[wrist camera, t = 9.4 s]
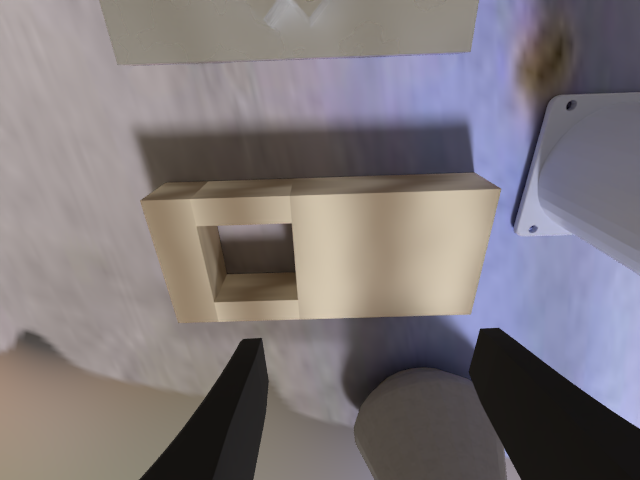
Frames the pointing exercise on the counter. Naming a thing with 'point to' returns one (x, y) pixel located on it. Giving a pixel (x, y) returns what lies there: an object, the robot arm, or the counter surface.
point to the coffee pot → (428, 429)
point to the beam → (327, 245)
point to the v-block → (284, 29)
